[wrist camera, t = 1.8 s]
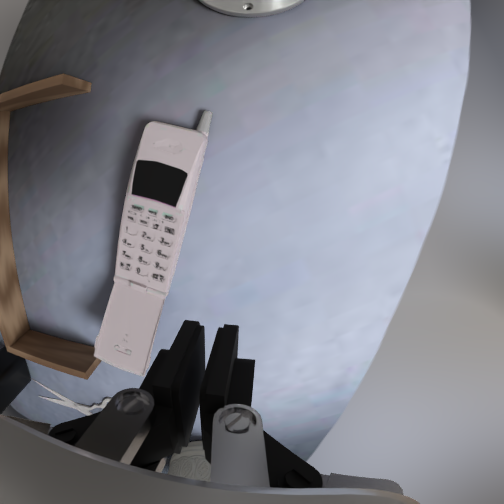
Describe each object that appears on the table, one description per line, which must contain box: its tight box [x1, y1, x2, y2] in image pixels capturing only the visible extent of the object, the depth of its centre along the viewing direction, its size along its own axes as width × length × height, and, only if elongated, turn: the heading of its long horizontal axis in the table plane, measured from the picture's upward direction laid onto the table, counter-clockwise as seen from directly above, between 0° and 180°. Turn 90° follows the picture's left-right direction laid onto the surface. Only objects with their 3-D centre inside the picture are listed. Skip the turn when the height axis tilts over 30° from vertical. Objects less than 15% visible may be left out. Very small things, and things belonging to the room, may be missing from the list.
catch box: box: [0, 74, 102, 379], centre depth 26 cm, size 31×14×5 cm, turn 177°
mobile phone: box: [94, 110, 213, 377], centre depth 26 cm, size 6×6×25 cm
